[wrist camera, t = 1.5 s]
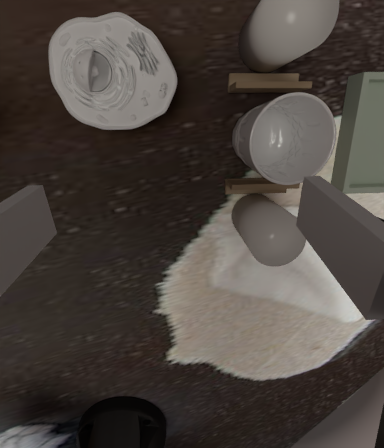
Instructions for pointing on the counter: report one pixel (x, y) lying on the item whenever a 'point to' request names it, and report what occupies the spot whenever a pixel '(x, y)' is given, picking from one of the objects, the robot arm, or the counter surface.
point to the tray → (361, 136)
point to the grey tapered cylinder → (267, 230)
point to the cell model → (111, 71)
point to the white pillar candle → (285, 31)
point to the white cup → (286, 137)
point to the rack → (261, 85)
